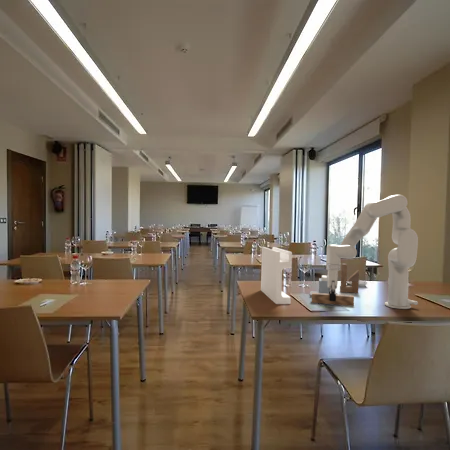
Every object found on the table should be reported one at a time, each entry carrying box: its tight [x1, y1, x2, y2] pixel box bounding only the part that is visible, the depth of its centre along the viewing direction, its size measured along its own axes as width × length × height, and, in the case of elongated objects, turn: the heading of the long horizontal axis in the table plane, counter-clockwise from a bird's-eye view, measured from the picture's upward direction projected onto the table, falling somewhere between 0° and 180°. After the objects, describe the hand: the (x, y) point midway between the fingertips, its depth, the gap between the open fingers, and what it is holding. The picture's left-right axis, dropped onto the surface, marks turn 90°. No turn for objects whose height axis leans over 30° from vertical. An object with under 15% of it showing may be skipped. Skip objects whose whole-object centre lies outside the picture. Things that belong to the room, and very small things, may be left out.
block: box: [260, 246, 293, 305], centre depth 201 cm, size 35×8×28 cm, turn 8°
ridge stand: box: [309, 274, 338, 299], centre depth 205 cm, size 16×12×12 cm
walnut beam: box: [311, 292, 355, 307], centre depth 188 cm, size 22×4×5 cm, turn 75°
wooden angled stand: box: [339, 263, 360, 294], centre depth 219 cm, size 4×11×18 cm, turn 82°
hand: (332, 299), depth 188 cm, fingers open, 6 cm apart
